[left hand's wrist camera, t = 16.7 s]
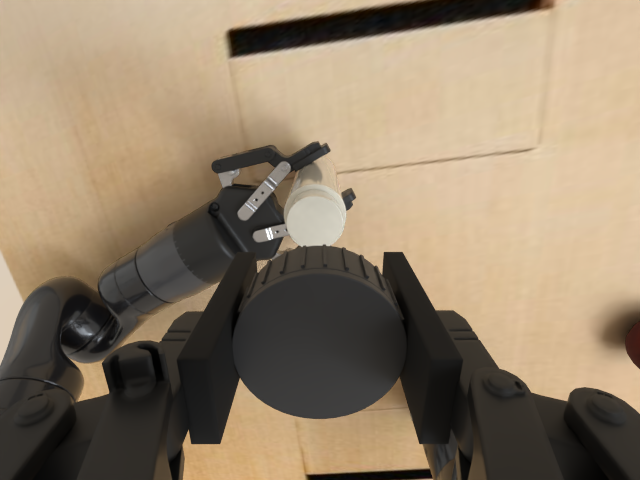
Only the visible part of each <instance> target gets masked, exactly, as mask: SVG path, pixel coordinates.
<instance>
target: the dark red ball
mask: <svg viewBox="0 0 640 480" xmlns="http://www.w3.org/2000/svg"><path fill="white" fill-rule="evenodd" d="M625 346H626V351H627V354H628V355H629V357H630V358H631V360H632V362H633V363H634V364H635V365H636V366H637V367H638V368H639V369H640V321H639V322H638V323H636V324H635V325H634V326H633V327H632V329H631V330H630V332H629V333H628V334H627V336H626V341H625Z"/></svg>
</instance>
